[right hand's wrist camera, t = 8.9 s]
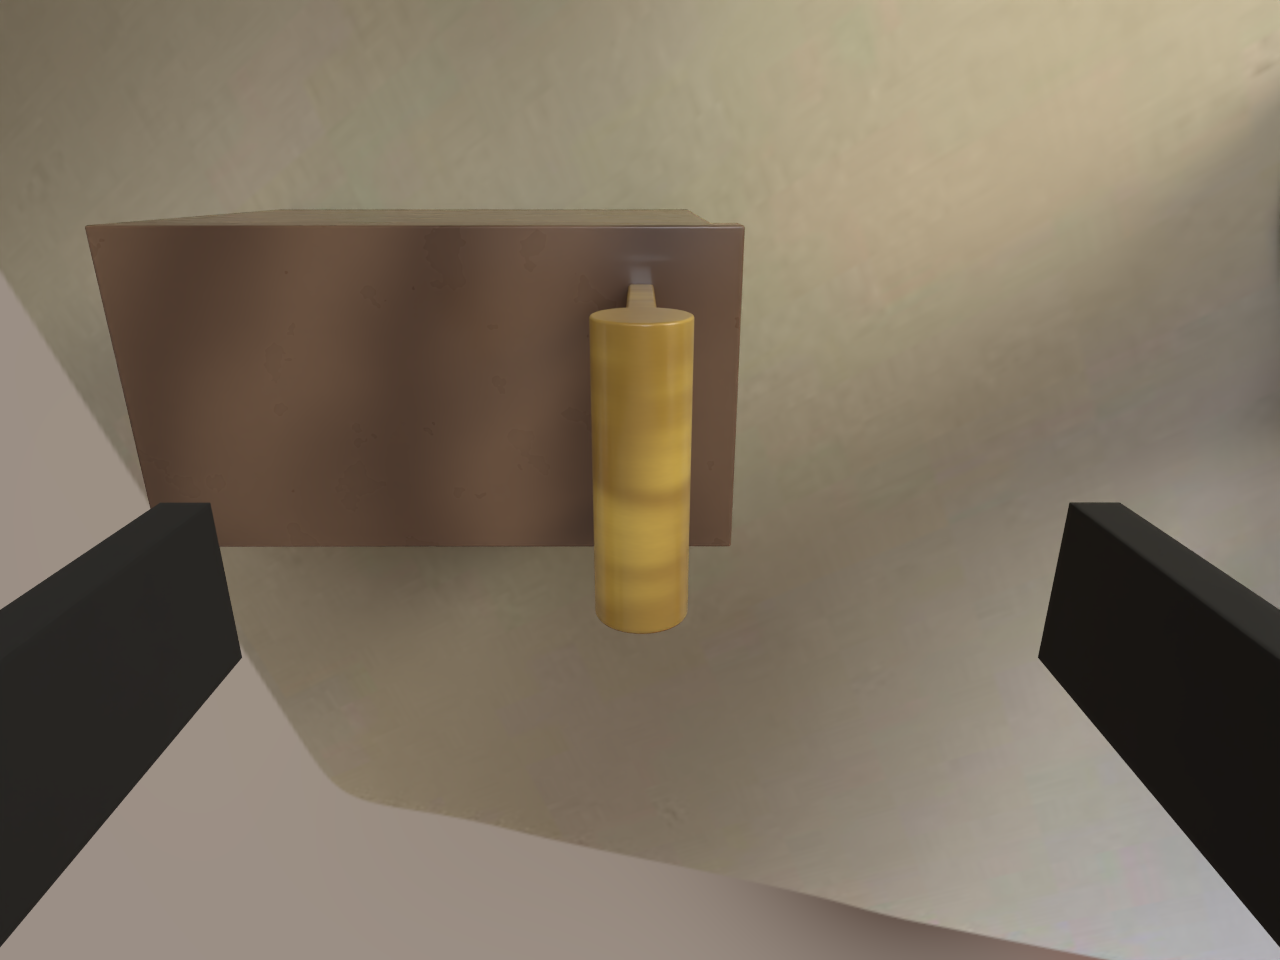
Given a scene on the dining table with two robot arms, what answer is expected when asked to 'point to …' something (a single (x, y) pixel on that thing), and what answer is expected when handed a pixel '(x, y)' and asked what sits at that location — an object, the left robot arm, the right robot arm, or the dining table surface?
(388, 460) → the lid
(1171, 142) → the dining table surface
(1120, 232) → the dining table surface
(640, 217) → the chest
